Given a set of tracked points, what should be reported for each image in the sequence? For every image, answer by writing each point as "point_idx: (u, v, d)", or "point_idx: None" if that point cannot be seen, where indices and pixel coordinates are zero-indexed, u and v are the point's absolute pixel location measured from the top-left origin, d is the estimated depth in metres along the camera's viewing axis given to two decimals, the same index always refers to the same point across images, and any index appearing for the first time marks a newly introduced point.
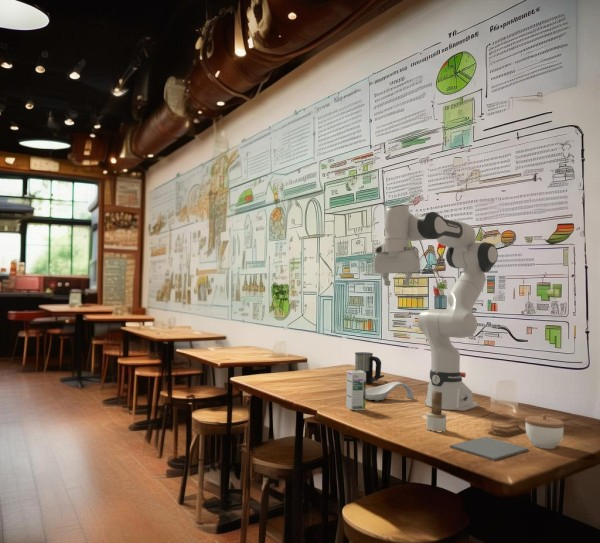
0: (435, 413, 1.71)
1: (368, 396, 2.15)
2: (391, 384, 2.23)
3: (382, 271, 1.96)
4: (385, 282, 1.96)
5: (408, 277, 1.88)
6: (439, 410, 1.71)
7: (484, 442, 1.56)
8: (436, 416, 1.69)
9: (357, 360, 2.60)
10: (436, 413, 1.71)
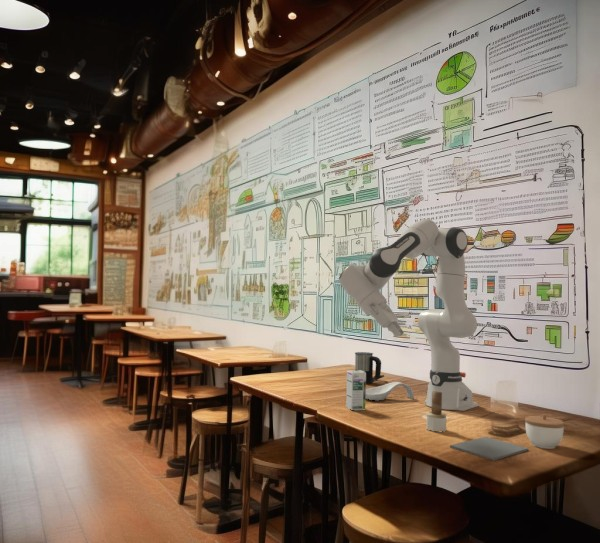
0: (435, 413, 1.71)
1: (368, 396, 2.15)
2: (391, 384, 2.23)
3: None
4: None
5: (392, 329, 1.72)
6: (439, 410, 1.71)
7: (484, 442, 1.56)
8: (436, 416, 1.69)
9: (357, 360, 2.60)
10: (436, 413, 1.71)
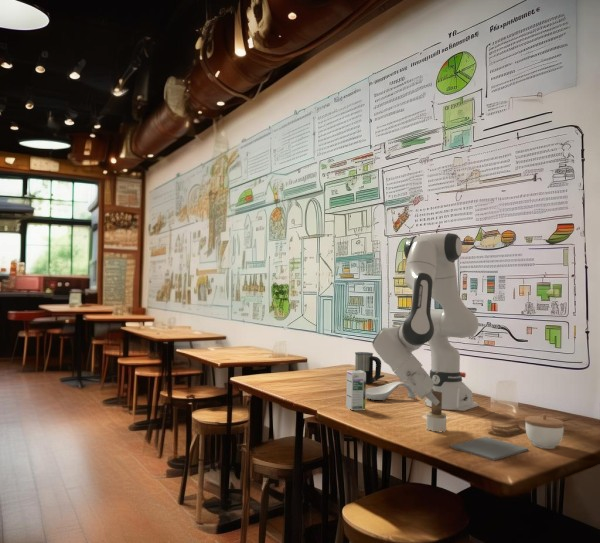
0: (435, 413, 1.71)
1: (370, 396, 2.15)
2: (393, 384, 2.24)
3: None
4: None
5: (431, 398, 1.69)
6: (439, 410, 1.71)
7: (484, 442, 1.56)
8: (436, 416, 1.69)
9: (357, 360, 2.60)
10: (436, 413, 1.71)
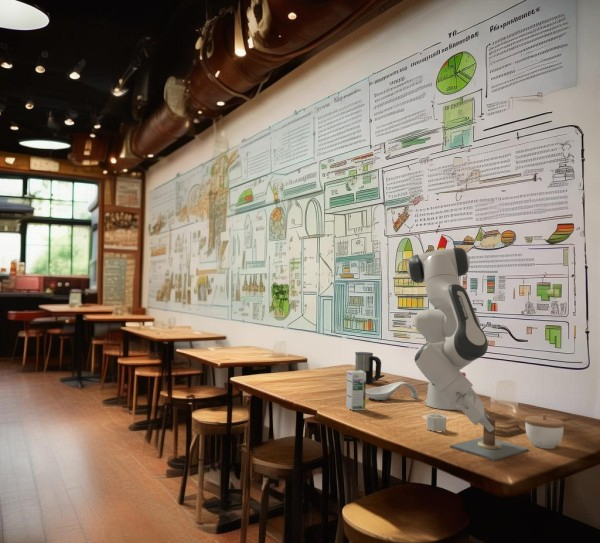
0: (488, 444, 1.51)
1: (372, 395, 2.16)
2: (395, 384, 2.24)
3: None
4: None
5: (484, 424, 1.49)
6: (493, 440, 1.51)
7: None
8: (490, 447, 1.49)
9: (357, 360, 2.61)
10: (489, 444, 1.51)
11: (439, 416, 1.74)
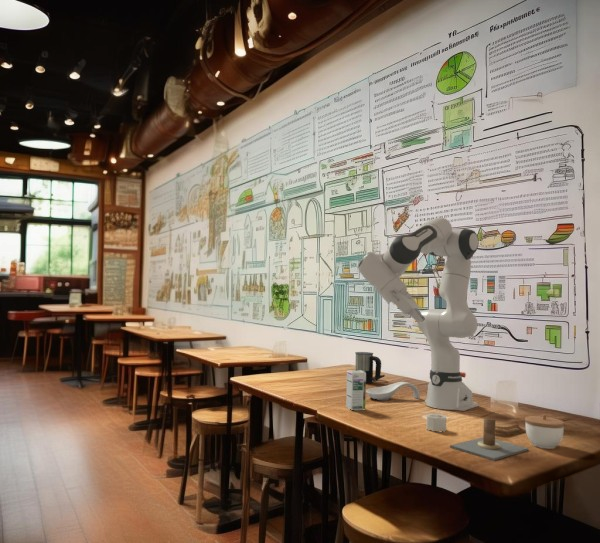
0: (488, 444, 1.51)
1: (373, 395, 2.17)
2: (397, 384, 2.24)
3: None
4: None
5: (414, 316, 1.72)
6: (493, 440, 1.51)
7: None
8: (490, 447, 1.49)
9: (357, 360, 2.61)
10: (489, 444, 1.51)
11: (439, 416, 1.74)
